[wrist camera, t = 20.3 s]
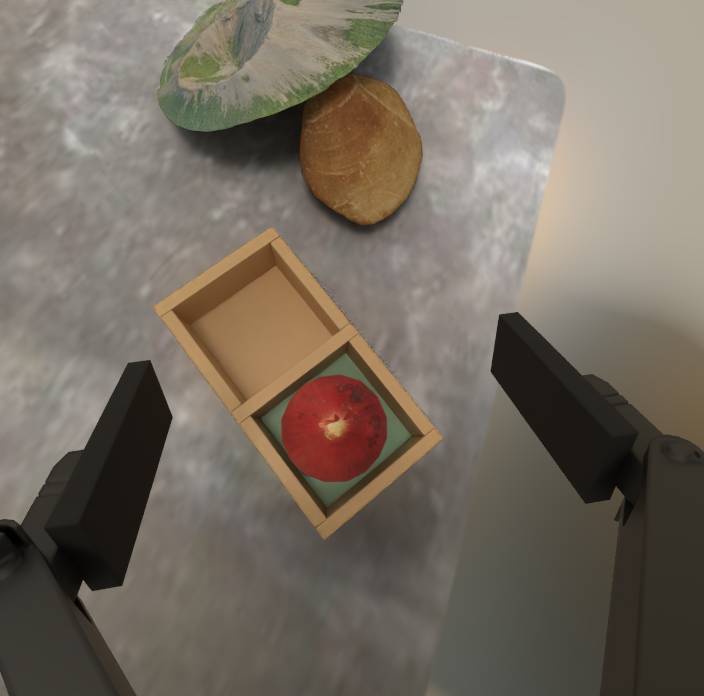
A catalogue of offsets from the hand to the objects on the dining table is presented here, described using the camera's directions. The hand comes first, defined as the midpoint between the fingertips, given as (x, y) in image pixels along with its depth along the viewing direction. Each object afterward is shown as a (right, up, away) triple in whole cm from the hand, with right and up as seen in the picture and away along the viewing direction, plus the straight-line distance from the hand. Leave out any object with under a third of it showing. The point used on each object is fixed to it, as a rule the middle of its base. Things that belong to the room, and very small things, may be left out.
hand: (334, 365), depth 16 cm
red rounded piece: (-1, -5, +11) cm, 12 cm away
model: (-4, +22, +16) cm, 27 cm away
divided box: (-3, -2, +12) cm, 12 cm away
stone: (0, +20, +11) cm, 23 cm away
